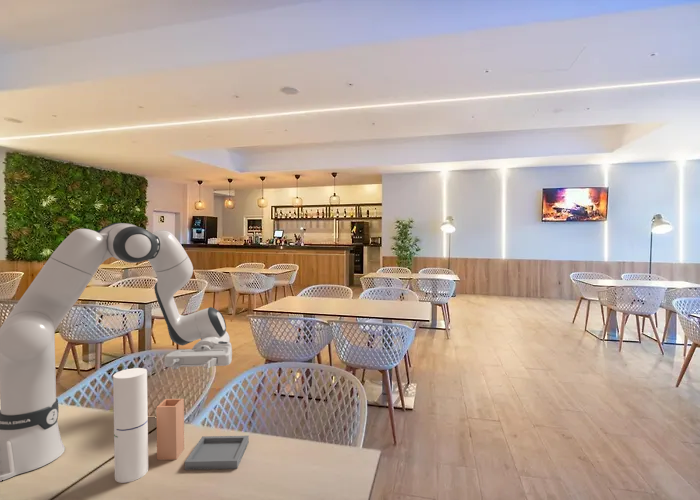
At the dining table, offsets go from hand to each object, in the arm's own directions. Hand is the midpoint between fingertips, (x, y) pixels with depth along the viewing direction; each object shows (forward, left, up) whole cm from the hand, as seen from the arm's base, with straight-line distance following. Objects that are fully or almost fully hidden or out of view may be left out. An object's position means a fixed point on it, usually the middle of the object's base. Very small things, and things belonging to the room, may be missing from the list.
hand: (190, 366), depth 112 cm
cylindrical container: (-6, -21, -20) cm, 29 cm away
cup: (0, -13, -19) cm, 23 cm away
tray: (+13, -14, -19) cm, 27 cm away
